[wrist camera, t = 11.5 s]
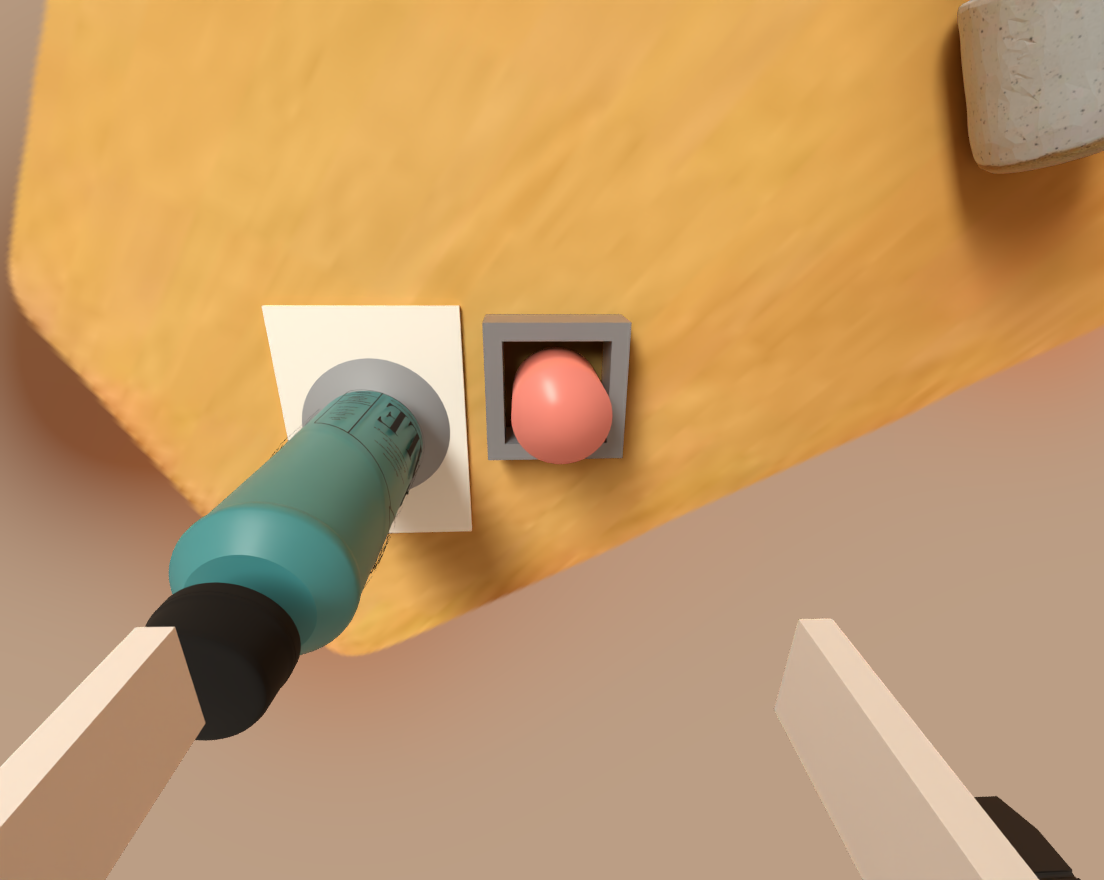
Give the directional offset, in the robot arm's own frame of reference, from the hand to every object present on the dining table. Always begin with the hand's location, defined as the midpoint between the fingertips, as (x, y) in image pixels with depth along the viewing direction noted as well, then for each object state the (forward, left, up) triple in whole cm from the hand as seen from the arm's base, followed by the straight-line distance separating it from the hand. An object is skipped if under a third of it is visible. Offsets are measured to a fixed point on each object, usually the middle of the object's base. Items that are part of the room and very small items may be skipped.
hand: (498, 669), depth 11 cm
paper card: (+3, -8, -22) cm, 24 cm away
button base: (0, +3, -22) cm, 22 cm away
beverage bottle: (+3, -8, -22) cm, 24 cm away
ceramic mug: (-18, +27, -23) cm, 39 cm away
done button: (0, +3, -20) cm, 20 cm away
